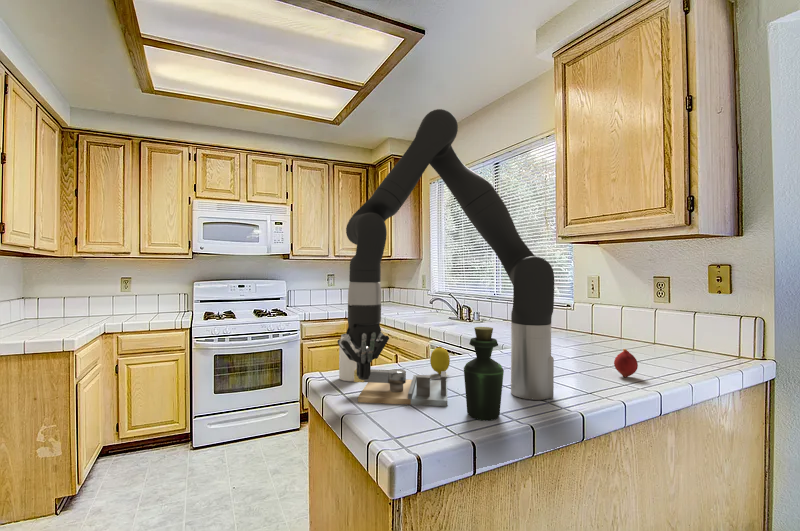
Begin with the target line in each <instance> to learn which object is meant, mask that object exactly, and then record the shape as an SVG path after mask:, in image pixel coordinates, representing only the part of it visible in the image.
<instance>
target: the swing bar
mask: <svg viewBox="0 0 800 531" xmlns="http://www.w3.org/2000/svg"><path fill="white" fill-rule="evenodd" d="M370 370H371V371H370V376H369V379H366V380H361V379H359V378H358V377H357V369H356V370H355V371H354V383H368V382H372V383H389V384H394V385H400V384H404V383H406V379H407V370H405V369H400V368H399V369H397V368H396V369H395V368H394V369H393V368H392V369H373V368H371V369H370Z"/></svg>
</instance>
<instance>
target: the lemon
mask: <svg viewBox="0 0 800 531" xmlns="http://www.w3.org/2000/svg"><path fill="white" fill-rule="evenodd" d="M429 359H430V361H429V363H430V365H431V366H430V367H431V368H432V370H433V371H435V372H436V374H438V375H441V371H446V372H447V370H448V369H449V367H450V363H451V358H450V354H449V352H448V350H446V349H445V348H443V347H442V346H441V345H440V346H438V347H436V348H434V349H433V351H432V352H431V354H430V358H429Z"/></svg>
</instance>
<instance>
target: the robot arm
mask: <svg viewBox="0 0 800 531" xmlns="http://www.w3.org/2000/svg"><path fill="white" fill-rule="evenodd" d="M458 128H459V125H458V120H457V118H456V117H455V115H454V114H453V113H452V112H450V111H448V110H447V109H444V108H443V109H442V108H437V109H433V110H431V111H429V112H428V113H427V114H426V115H425V116H424V117H423V118H422V120H421V122H420V124H419V127H418V129H417V130H416V132H415V137H414V139H413V141H412V142H411V144H410V145H409V147H407V149H406V151H405V152H404V153H403V155H402V156H401V157H400V159H399V160H398V161H397V162H396V164H394V166H393V168H392V169H391V170H390V171H389V172H388V174H387V175H386V177H384V179H382V181H381V183H380V184H379V185H378V186H377V188H376V189H375V191H374V192H373V193H372V195H371V196H370V198H368V199H367V200H366V201H365V202H364V203H363V204H362V205H361V206H360V207H359V208H357V210H356V211H355V213H354V214H352V216H351V217H350V219H349V220H348V222H347V224H346V228H345V233H346V237H347V239H348V240H349V241H350V243H352V244H354V245H356V249H355V255H354V256H353V257H352V258H351V259H350V262H349V274H348V275H349V280H348V281H349V283H348V284H349V285H348V290H347V324H348V326H347V329H346V332H345V334H347V335H346V336H345V337H344V338H343V339H341V338H338V339H337V344H338V347H339V346H340V347H341V349H342V350H343V351H344V353H345V354H346V355H347V357H348V358H349V359H350V360H353V361H355V362H356V363H357V377H358V378H359V379H361V380H366V379H369V376H370V371H371V370H370V369H372V368H371V367H372V366H371V364H372V361H373V360H377V359H378V358H379V357H380V355H381V353H382V351H383V350H384V348H385V346H386V345H387V343H388V341H389V340H390V336H388V335H385V333H383V332H382V328H381V326H380V325H381V324H380V323H381V322H382V286H381V276H382V274H381V268H382V267H381V264H382V259H383V257H384V252H385V248H386V242H387V235H388V234H387V233H388V232H387V225H386V221H387V219H390V218H392V217H393V216H395V214H397V213H398V212H399V210H400V209H401V208H402V206H403V205H404V203H405V202H406V201H407V199H408V198H409V197H410V195H411V193H413V191H414V189H415V187H416V186H417V184H418V182H419V181H420V179H421V178H422V176H423V174H424V173H425V171H426V170H427V167H428V166H429V165H430V166H431V167H432V169H433V170H434V171H435V172H436V173H437V175H439V178H441V180H442V181H443V183H444V184H445V185H446V187H447V189H448V190H449V192H450V193H451V195H452V196H453V197H454V198H455V200H456V202H457V203H458V204H459V206H460V208H461V210H462V211H463V213H464V214H465V216H466V217H467V219H468V220H469V221H470V223H471V224H472V225H473V226H474V228H475V229H476V231H477V232H478V233H479V235H480V236H481V237H482V238H483V240H485V242H486V243H487V244H488V246H489V247H490V248H491V249H492V250H493V252H494V253H495V255H496V257H498V259H499V262H500V263H501V265H502V267H503V268H504V271H505V273H506V274H507V276H508V278H509V281H510V282H511V285H512V286H513V287H512V288H513V293H512V294H513V295H512V298H513V299H512V300H513V301H512V302H513V303H512V308H511V311H510V312H511V314H510V315H511V316H510V317H511V318H510V320H511V321H510V322H511V324H510V325H511V327H510V333H511V334H510V340H511V341H510V344H511V345H510V349H511V350H510V351H511V352H510V393H511V395H513V396H515V397H517V398H520V399H526V400H532V401H533V400H534V401H535V400H536V401H538V400H539V401H542V400H548V399H554V390H555V389H554V388H555V387H554V382H555V381H554V380H555V379H554V374H555V373H554V372H555V371H554V367H555V365H554V364H555V363H554V361H555V359H554V357H553V356H552V319H553V318H552V317H553V314H554V308H555V307H554V306H555V272H554V269H553V267H552V265H551V264H550V262H548V260H546V259H545V258H543V257H540V256H536V255H535V254H534V252H532V251H531V249H530V248H529V247H528V246H527V244H526V243H525V242H524V241H523V239H522V237H521V236H520V234H519V233H518V230H517V228H516V226H515V224H514V221H513V218H512V217H511V214H510V212H509V209H508V208H507V205H506V204H505V202H504V201H503V199H502V197H501V196H500V195H499V193H498V191H497V190H496V189H495V187H494V186H493V184H492V183H490V181H488V180H487V179H486V178H484V176H482V175H480V174H479V173H477V172H476V171H473V170H472V169H470V168H469V167H467V166H466V165H465V164H464V162H462V160H461V159H460V158H459V156H458V154H457V153H456V152H455V150H454V148H453V145H452V144H453V143H454V141H455V139H456V138H457V136H458V132H459V130H458ZM350 341H351V342H352V344H353V345H354V350H353V349H352V347H351V346H350V345H351V342H350Z"/></svg>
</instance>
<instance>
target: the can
mask: <svg viewBox="0 0 800 531" xmlns="http://www.w3.org/2000/svg"><path fill="white" fill-rule="evenodd" d="M346 335H347V334H346V333H343V334H341V335H340V339H343V338H344V337H345V336H346ZM350 342H351V341H350ZM350 346H351V347H352V349H353V350H354V345H353V344H352V342H351V345H350ZM338 347H339V349H338V350H339V352H338V355H339V357H338V359H339V360H338V366H339V368H338V375H339V376H338V377H339V379H340V380H341V381H343V382H349V383H350V382H354V371H355V370H356V369H357V363H356V362H355V361H353V360H350V359H349V358H348V357H347V355H346V354H345V353H344V351H343V350H342V349H341V347H340V346H339V345H338ZM354 383H355V382H354Z"/></svg>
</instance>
